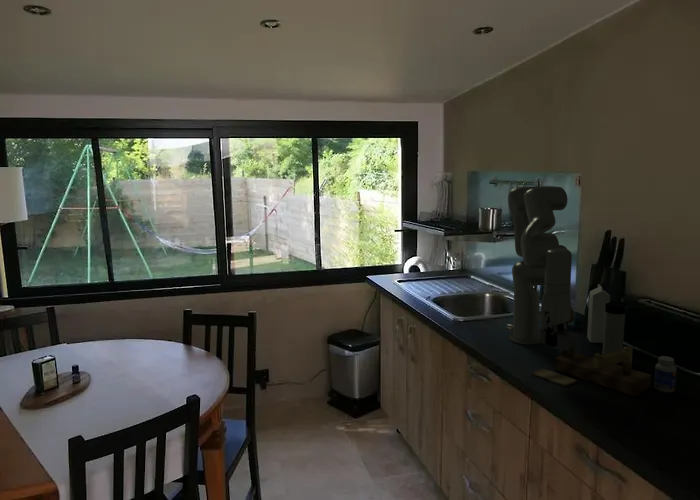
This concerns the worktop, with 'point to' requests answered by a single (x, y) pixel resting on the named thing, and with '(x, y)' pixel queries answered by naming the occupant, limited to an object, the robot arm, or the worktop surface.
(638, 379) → the plane body
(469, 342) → the worktop surface
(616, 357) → the lever
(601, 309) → the milk
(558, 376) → the cork pad
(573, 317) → the natural sponge
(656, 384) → the pill bottle
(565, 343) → the black rectangular block
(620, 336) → the travel mug
